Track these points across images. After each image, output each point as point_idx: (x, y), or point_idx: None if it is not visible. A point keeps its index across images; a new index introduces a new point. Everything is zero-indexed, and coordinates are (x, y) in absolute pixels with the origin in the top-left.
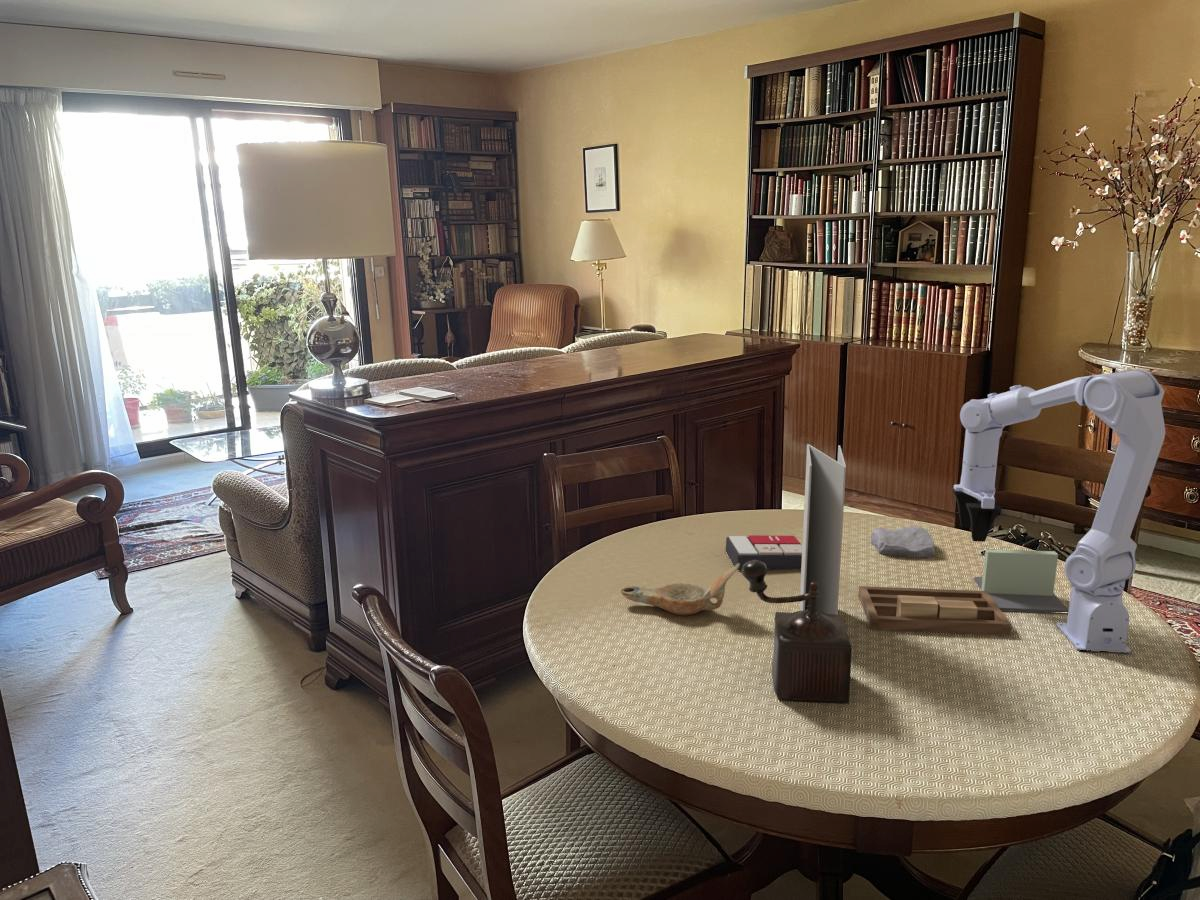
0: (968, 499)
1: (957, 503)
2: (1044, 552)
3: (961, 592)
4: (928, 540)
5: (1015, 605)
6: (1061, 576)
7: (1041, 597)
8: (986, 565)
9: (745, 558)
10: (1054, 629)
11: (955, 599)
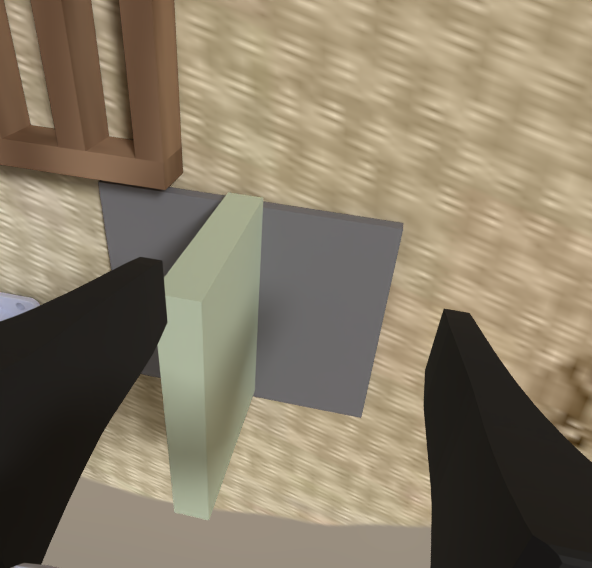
0: (463, 555)
1: (558, 441)
2: (192, 489)
3: (129, 70)
4: None
5: (130, 250)
6: (402, 475)
7: None
8: (186, 252)
9: None
10: (13, 281)
11: (37, 4)
